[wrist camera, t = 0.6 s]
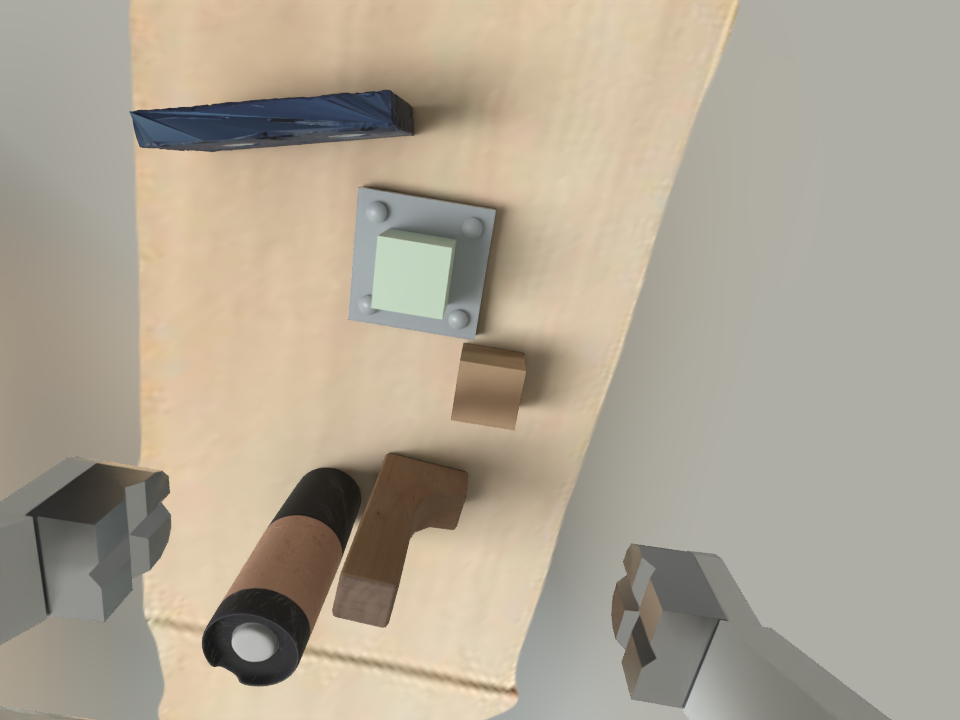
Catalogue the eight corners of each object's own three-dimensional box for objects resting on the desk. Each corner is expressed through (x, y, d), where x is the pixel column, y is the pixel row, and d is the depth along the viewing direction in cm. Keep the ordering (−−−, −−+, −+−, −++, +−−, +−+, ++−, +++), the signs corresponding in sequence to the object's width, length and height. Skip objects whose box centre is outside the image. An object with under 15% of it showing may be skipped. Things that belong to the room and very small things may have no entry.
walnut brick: (463, 342, 52) (460, 360, 48) (523, 352, 52) (526, 371, 48) (455, 397, 54) (450, 420, 50) (512, 407, 54) (514, 430, 50)
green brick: (389, 228, 47) (377, 235, 42) (456, 239, 47) (452, 248, 42) (383, 294, 49) (370, 308, 44) (447, 304, 49) (442, 319, 44)
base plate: (362, 186, 47) (357, 187, 45) (496, 209, 48) (495, 211, 46) (352, 315, 51) (347, 321, 50) (475, 335, 52) (474, 341, 50)
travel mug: (358, 463, 57) (290, 610, 38) (368, 522, 60) (309, 687, 41) (288, 466, 58) (187, 613, 39) (301, 525, 60) (213, 689, 41)
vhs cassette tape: (413, 103, 45) (391, 88, 36) (416, 141, 46) (395, 136, 37) (201, 115, 46) (125, 103, 36) (209, 152, 47) (136, 149, 37)
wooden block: (468, 471, 57) (456, 601, 40) (458, 505, 59) (442, 643, 42) (387, 450, 57) (339, 573, 40) (378, 485, 58) (329, 618, 41)
